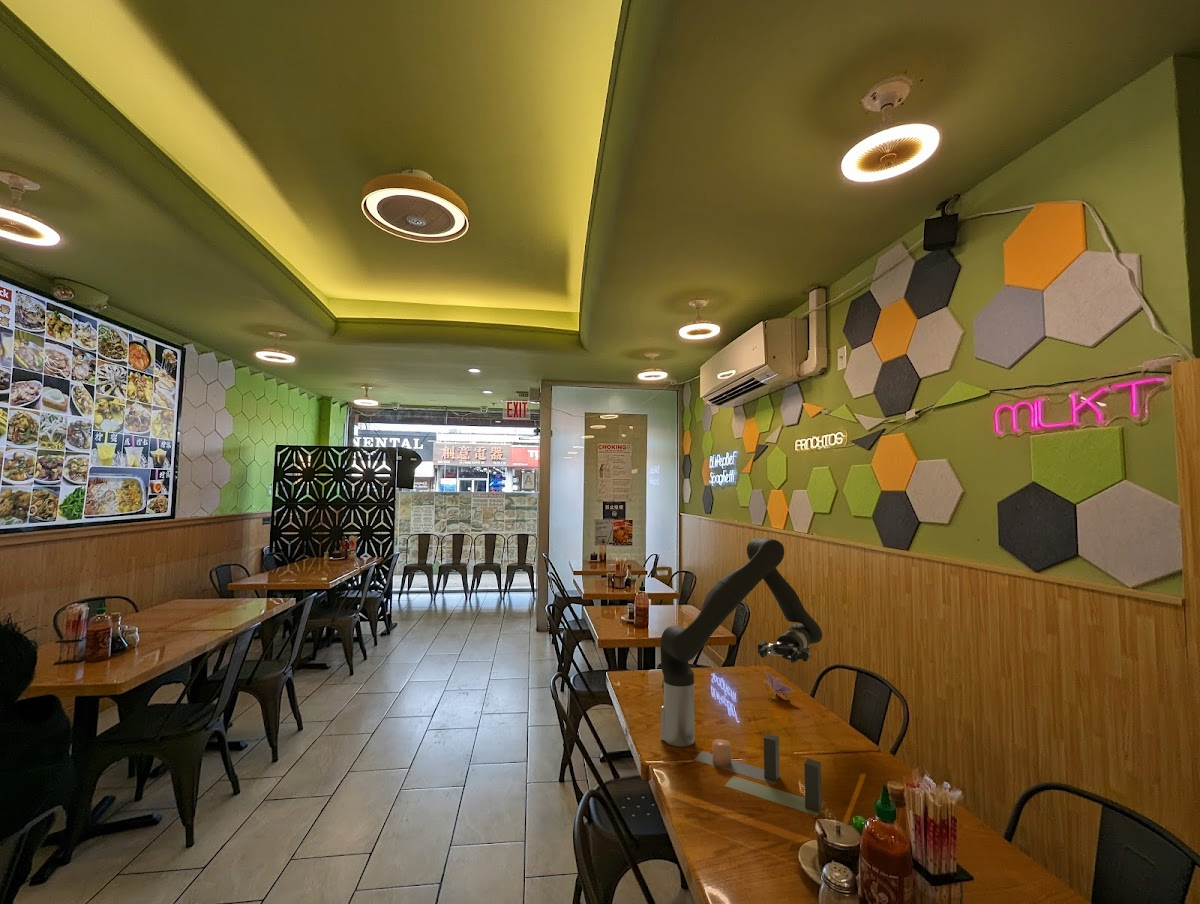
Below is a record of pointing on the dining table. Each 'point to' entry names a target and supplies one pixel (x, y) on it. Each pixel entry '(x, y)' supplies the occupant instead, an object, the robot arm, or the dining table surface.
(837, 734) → the dining table surface
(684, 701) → the robot arm
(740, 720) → the dining table surface
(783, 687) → the lily
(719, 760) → the tan round cylinder
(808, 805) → the grey angle bracket
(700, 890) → the dining table surface
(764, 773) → the grey l-shaped bracket
